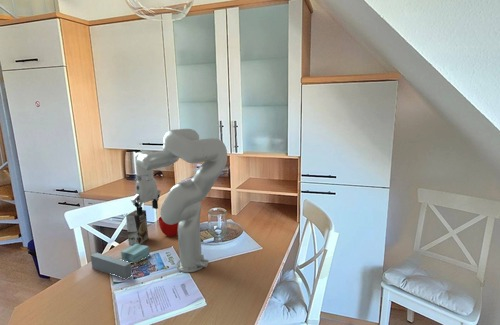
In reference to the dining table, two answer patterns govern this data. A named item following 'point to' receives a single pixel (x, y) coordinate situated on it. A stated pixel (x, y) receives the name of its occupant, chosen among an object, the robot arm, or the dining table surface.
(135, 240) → the coffee box
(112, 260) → the board
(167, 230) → the ceramic cup
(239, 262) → the dining table surface
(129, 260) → the block
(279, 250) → the dining table surface
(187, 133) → the robot arm
